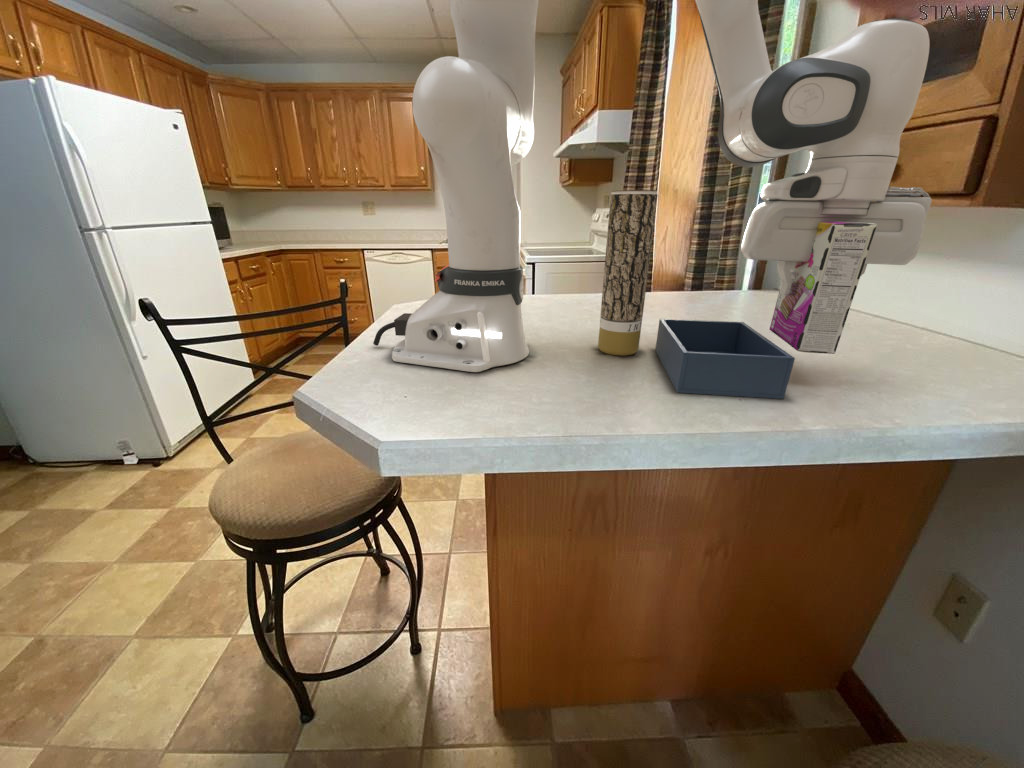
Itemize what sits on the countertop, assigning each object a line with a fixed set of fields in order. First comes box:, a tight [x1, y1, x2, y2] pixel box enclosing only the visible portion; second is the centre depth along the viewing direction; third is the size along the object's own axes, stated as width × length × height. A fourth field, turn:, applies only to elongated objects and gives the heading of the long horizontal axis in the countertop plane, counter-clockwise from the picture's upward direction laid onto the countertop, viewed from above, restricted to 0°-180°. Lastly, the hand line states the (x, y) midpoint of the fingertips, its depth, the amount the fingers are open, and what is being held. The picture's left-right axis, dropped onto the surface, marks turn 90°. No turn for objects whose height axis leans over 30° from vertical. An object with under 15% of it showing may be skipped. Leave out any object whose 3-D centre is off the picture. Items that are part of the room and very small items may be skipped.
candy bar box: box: [768, 221, 877, 355], centre depth 58 cm, size 11×5×16 cm, turn 168°
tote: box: [654, 318, 796, 400], centre depth 62 cm, size 13×18×6 cm
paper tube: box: [597, 189, 659, 357], centre depth 68 cm, size 7×7×25 cm
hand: (811, 295), depth 59 cm, fingers closed on candy bar box, 5 cm apart
